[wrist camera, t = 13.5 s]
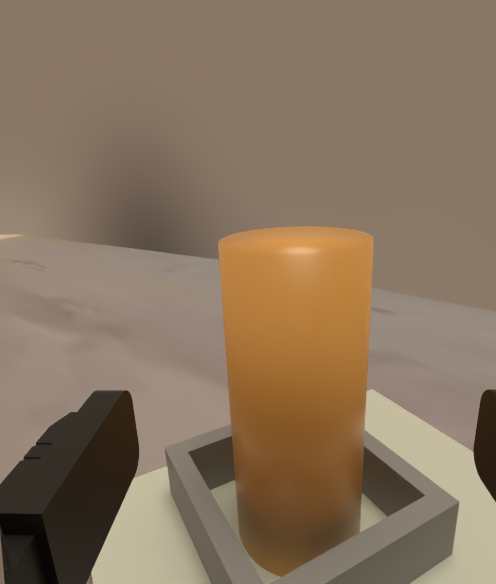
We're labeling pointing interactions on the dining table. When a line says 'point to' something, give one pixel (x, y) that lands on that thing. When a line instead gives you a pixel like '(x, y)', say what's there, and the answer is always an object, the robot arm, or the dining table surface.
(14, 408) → the dining table surface
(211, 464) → the cream slab
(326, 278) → the orange cylinder
